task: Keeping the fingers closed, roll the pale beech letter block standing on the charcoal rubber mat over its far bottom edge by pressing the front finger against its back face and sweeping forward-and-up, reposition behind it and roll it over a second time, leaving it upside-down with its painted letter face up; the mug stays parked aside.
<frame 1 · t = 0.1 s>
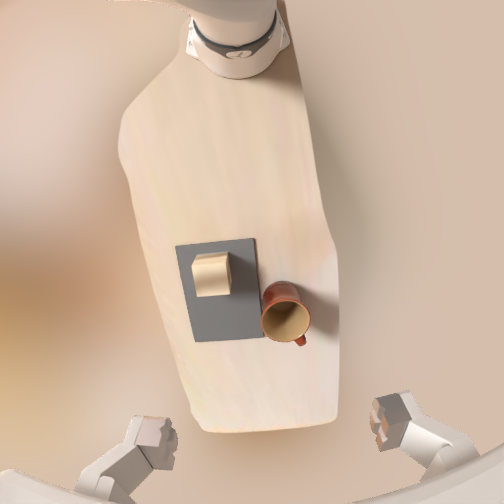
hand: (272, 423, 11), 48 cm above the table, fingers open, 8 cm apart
letter block: (214, 267, 59), resting on mat
mug: (284, 301, 62), on the table
mat: (221, 294, 62), on the table
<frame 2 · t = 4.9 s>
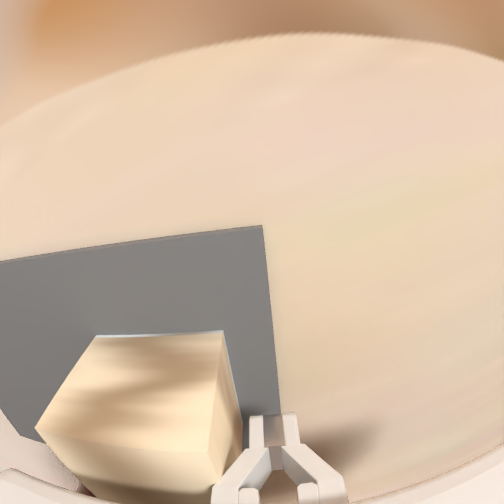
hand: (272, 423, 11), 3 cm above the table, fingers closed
letter block: (171, 384, 13), resting on mat, touching gripper
mat: (79, 381, 14), on the table
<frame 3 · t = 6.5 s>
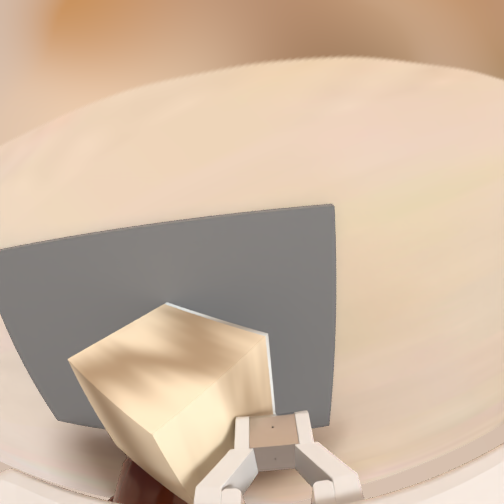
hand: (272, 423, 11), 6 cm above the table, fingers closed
letter block: (220, 367, 14), point 2 cm above the table, tilted 35°, touching gripper, mat
mug: (159, 459, 21), on the table
mat: (143, 352, 17), on the table
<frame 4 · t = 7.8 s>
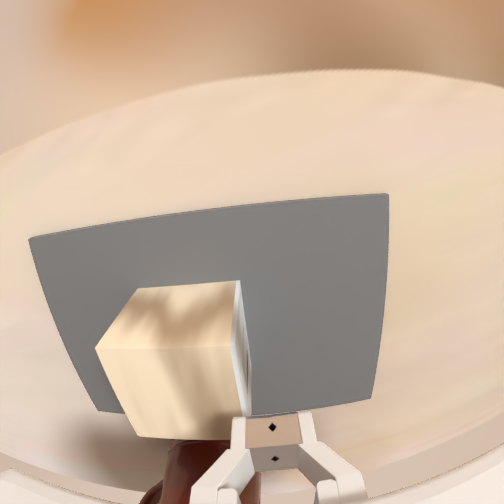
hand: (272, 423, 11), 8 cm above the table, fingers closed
letter block: (245, 357, 15), point 3 cm above the table, tilted 90°, touching mat
mug: (201, 445, 23), on the table
mat: (206, 332, 18), on the table
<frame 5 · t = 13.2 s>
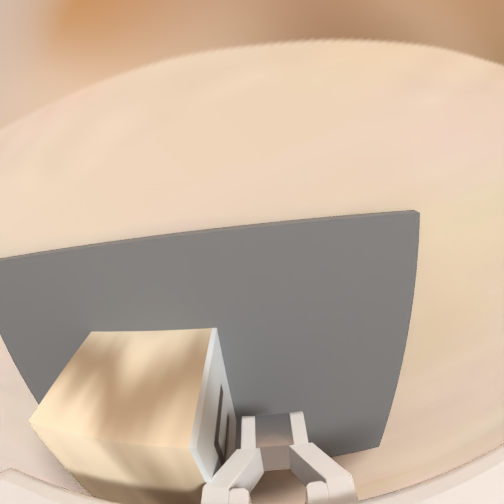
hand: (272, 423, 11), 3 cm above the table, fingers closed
letter block: (223, 430, 10), point 4 cm above the table, tilted 90°, touching gripper, mat
mat: (180, 383, 14), on the table
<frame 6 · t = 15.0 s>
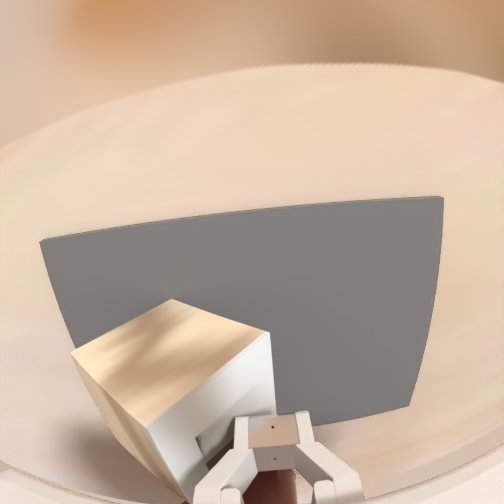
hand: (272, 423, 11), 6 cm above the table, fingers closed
letter block: (230, 430, 10), point 7 cm above the table, tilted 127°, touching gripper, mat
mug: (229, 460, 21), on the table
mat: (248, 345, 17), on the table
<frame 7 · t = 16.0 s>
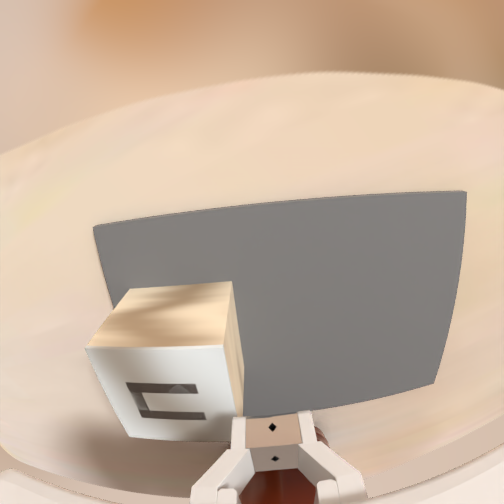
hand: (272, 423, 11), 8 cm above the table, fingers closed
letter block: (166, 402, 12), point 6 cm above the table, tilted 180°, touching mat
mug: (265, 444, 22), on the table
mat: (298, 325, 18), on the table
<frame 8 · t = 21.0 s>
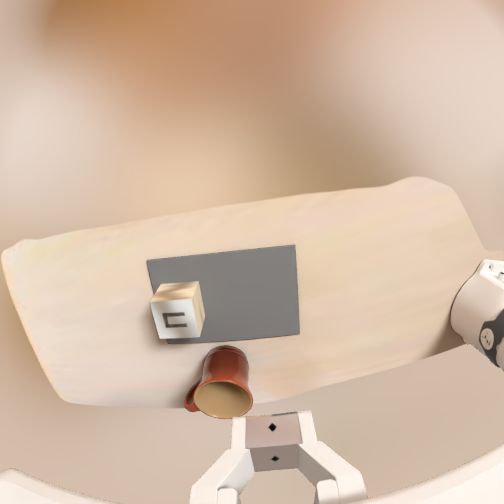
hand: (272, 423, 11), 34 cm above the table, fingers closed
letter block: (174, 320, 41), point 6 cm above the table, tilted 180°, touching mat
mug: (219, 362, 51), on the table
mat: (225, 298, 47), on the table
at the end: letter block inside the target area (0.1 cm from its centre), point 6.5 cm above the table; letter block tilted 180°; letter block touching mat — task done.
